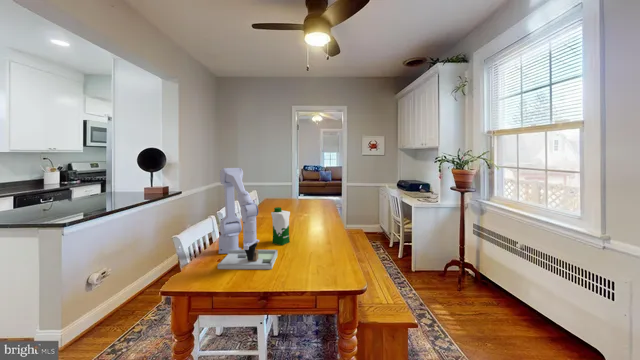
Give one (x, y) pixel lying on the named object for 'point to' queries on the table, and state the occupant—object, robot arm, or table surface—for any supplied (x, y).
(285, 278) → the table surface
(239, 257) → the tray
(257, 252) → the walnut block
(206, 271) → the table surface
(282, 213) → the milk carton
